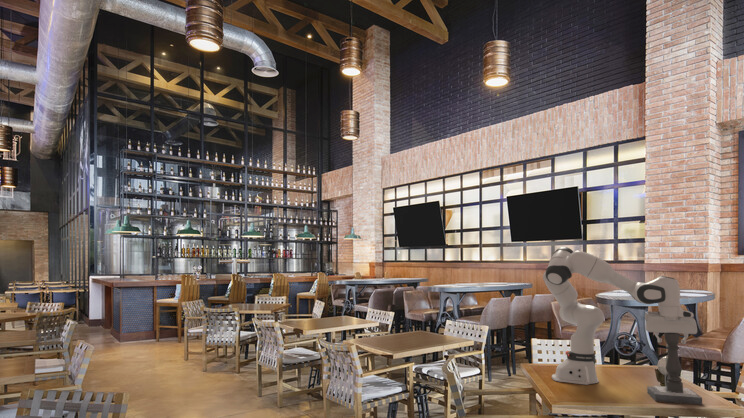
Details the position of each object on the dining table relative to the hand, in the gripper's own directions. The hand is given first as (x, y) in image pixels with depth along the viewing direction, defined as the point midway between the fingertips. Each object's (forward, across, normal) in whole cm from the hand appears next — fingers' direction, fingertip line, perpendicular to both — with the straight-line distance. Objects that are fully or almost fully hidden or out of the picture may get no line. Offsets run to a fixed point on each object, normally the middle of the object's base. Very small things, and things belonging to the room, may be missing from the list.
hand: (671, 343), depth 219 cm
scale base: (+25, 0, +2) cm, 25 cm away
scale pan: (+22, 0, 0) cm, 22 cm away
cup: (+25, +2, +24) cm, 35 cm away
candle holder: (+21, 0, 0) cm, 21 cm away
